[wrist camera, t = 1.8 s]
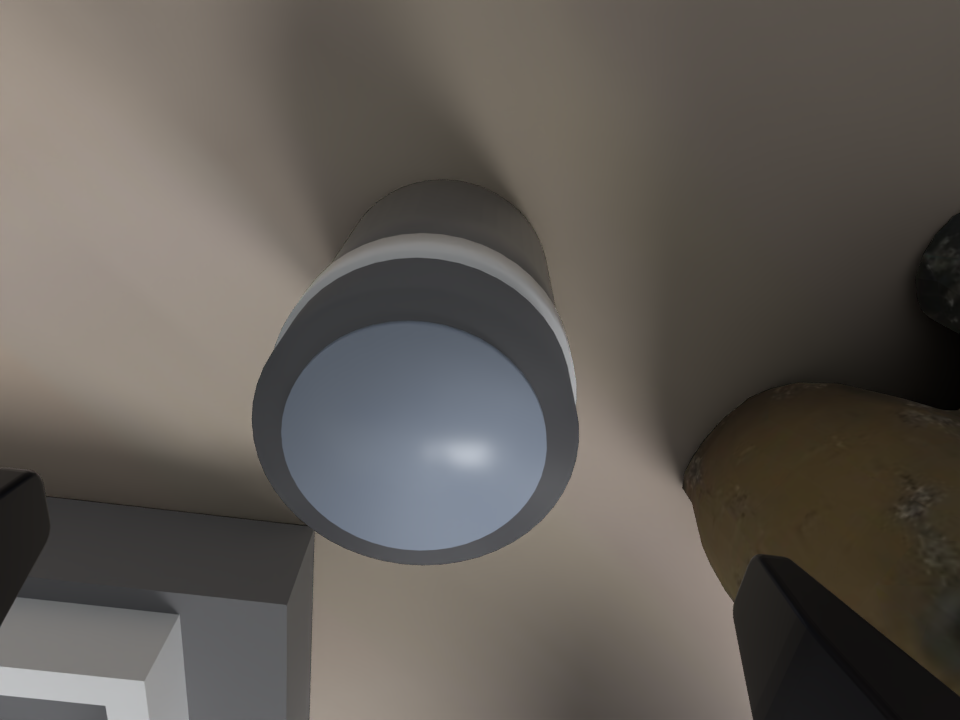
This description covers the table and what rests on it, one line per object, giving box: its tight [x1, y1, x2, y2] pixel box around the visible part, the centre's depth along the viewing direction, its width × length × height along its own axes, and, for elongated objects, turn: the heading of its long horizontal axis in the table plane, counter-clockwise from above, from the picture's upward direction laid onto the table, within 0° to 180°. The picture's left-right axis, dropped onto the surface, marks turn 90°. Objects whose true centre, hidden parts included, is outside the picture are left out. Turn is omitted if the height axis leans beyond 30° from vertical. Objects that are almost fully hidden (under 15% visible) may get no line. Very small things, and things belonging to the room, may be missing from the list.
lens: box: [252, 180, 579, 565], centre depth 14 cm, size 5×5×7 cm
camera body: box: [0, 497, 314, 720], centre depth 20 cm, size 14×10×5 cm
